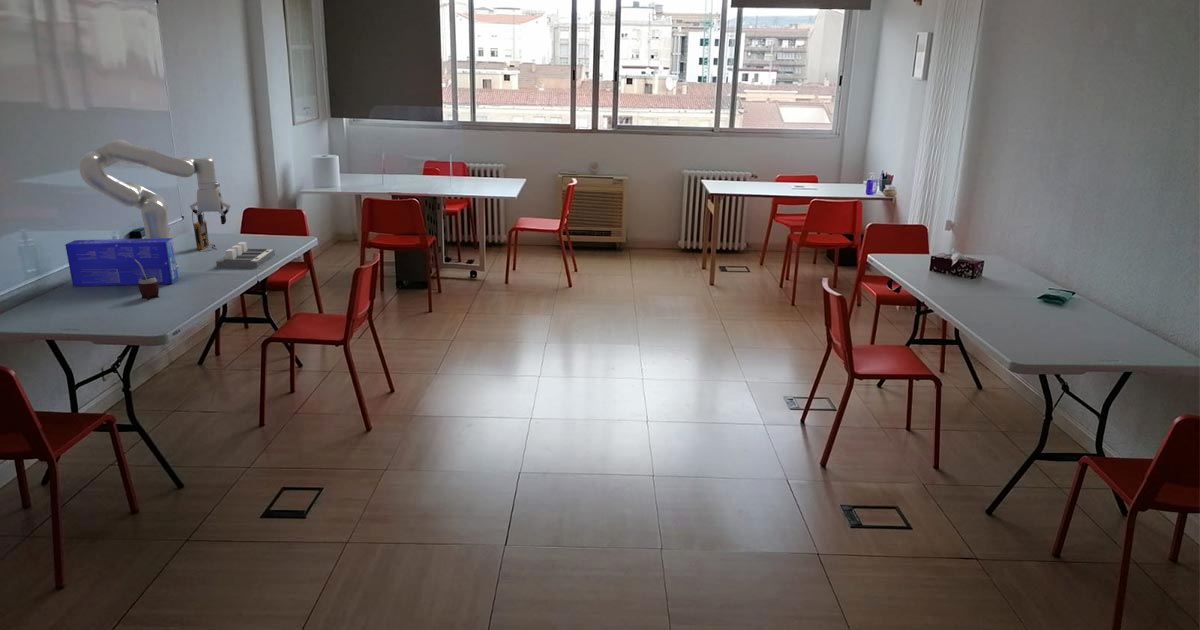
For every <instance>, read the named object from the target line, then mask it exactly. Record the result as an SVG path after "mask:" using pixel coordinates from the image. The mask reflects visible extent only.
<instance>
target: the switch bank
mask: <svg viewBox="0 0 1200 630" xmlns="http://www.w3.org/2000/svg"><path fill="white" fill-rule="evenodd" d="M247 249H248V250H247V251H246V252H242V254H241V255H236V258H235V259H226V255H224V256H223V257H221V258H220V259H218V260H216V261H215V264H216V268H217V267H218V268H219V269H258V268H260V267H261V266H262V265H264V264H265V263H267V262H268V261H269V260H271V259H272V258H273V256H274V257H275V255H276V254H275V253H276V252H275V249H271V248H270V249H268V248H247ZM270 258H271V259H270ZM267 260H268V261H267ZM266 261H267V262H266ZM264 262H265V263H264ZM263 263H264V264H263ZM261 264H262V265H261ZM260 265H261V266H260ZM259 266H260V267H259ZM257 267H258V268H257ZM218 268H217V269H218Z"/></svg>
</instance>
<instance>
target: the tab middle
mask: <svg viewBox="0 0 1200 630" xmlns="http://www.w3.org/2000/svg"><path fill="white" fill-rule="evenodd" d="M230 249H236V255H241V254H242V248H241V245H237V244H236V245H232V247H231V248H230Z"/></svg>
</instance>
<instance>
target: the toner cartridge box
mask: <svg viewBox="0 0 1200 630" xmlns="http://www.w3.org/2000/svg"><path fill="white" fill-rule="evenodd" d="M173 240H174V239H173V237H172V238H171V237H170V238H152V239H146V238H118V239H117V238H114V239H110V238H109V239H77V240H76V239H75V240H72V241H69V242H67V243H66V244H64V246H65V252H66V256H67V262H68V268H69V274H70V279H71V282H72V283H71V284H72V287H105V286H107V287H111V286H138V282H139V280H140V278H143V277H144V275H143V272H142V270H141V268H140V266H139V264H138V263H137V262H136V261H135V259H136V260H137V261H138V262H139V263H140V264H141V265H142V268H143V271H144V273H145V275H146V277H155V278H156V279H157V281H158V284H159V285H165V284H166V285H167V284H168V285H169V284H170V285H172V284H174V283H176V282H177V281H178V280H179V275H178V274H179V273H178V268H177V266H176V264H177V262H176V253H175V247H174V241H173Z"/></svg>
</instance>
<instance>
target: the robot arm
mask: <svg viewBox="0 0 1200 630" xmlns="http://www.w3.org/2000/svg"><path fill="white" fill-rule="evenodd" d="M119 162H121V163H125V164H129V165H134V166H139V167H143V168H147V169H150V170H152V171H156V172H160V173H163V174H166V175H167V174H168V175H170V176H176V177H180V178H189V177H192V176H193V175H194V174H196V181H197V186H198V187H197V188H198V189H197V191H196V202H194V203H193V204H191V205H189V208H190V209H191V210H192V212H193V214H195V215H196V216H197V222H199V224H203V221H204V218H203V214H202V213H204V212H205V213H211V212H212V213H215V212H218V213H219V214H220V221H221V222H220V224H221V225H226V223H227V217H226V215H227V214H228V213H229V211H230V209H231V205H230V204H228V203H226V202H224V201H223V197H222V193H221V189H220V187H221V183H218V182H217V178H216V177H217V176H216V169H215V162H214V159H213V158H210V157H199V158H193V157H192V158H191V157H183V158H182V157H181V158H177V157H173V156H169V155H166V154H164V153H161V152H159V151H157V150H156V149H154V148H150V147H146V146H142V145H137V144H134V143H129V141H127V140H125V139H121V138H118V139H114V140H112V141H109V142H108V143H106V144H104V145H102V146H100V147H97V148H96V149H93V150H91V151H88V152H87V153H86V154H85V155H83V156H81V159H80V161H79V166H78V170H79V174H80V176H81V178H82V180H83V181H84V182H85V183H86V185H88V186H89V187H90V188H91V189H93V190H95V191H97V192H98V193H101V194H103V195H104V196H106V197H108V198H110V199H111V200H113V201H115V202H117V203H119V204H121V205H123V206H125V207H129V208H132V207H133V208H134V207H135V208H137V209H138V210H140V211H141V218H142V222H143V228H144V233H145V239H152V238H171V233H170V225H169V220H168V215H167V211H168V204H167V201H166V200H165V198H163V197H162V196H161V195H159V194H157V193H155V192H153V191H151V190H149V189H147V188H146V187H144V186H142V185H140V184H137V183H135V182H124V181H122V180H120V179H118V178H117V177H115V176H112V175H110V174H108V173H107V172H105V171H104V169H107V168H108V167H110V166H113V165H114V164H117V163H119ZM224 207H225V210H224ZM196 208H197V209H196ZM176 266H177V269H178V268H179V264H178V263H176Z"/></svg>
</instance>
